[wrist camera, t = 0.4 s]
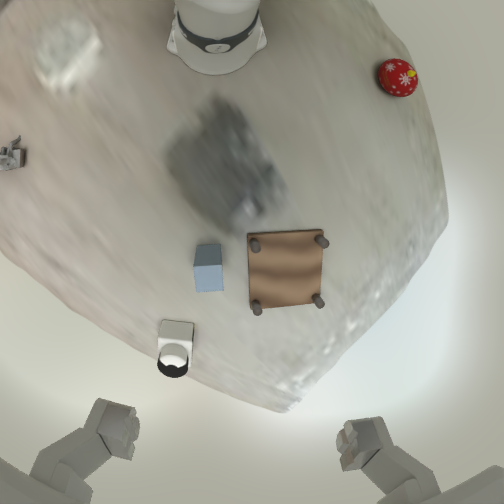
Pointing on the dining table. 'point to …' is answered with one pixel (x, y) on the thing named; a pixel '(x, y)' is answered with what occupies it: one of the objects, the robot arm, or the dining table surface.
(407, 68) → the christmas ornament
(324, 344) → the dining table surface
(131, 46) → the dining table surface
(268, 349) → the dining table surface
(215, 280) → the blue block
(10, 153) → the sculpture
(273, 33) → the dining table surface
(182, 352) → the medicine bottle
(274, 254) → the peg board
